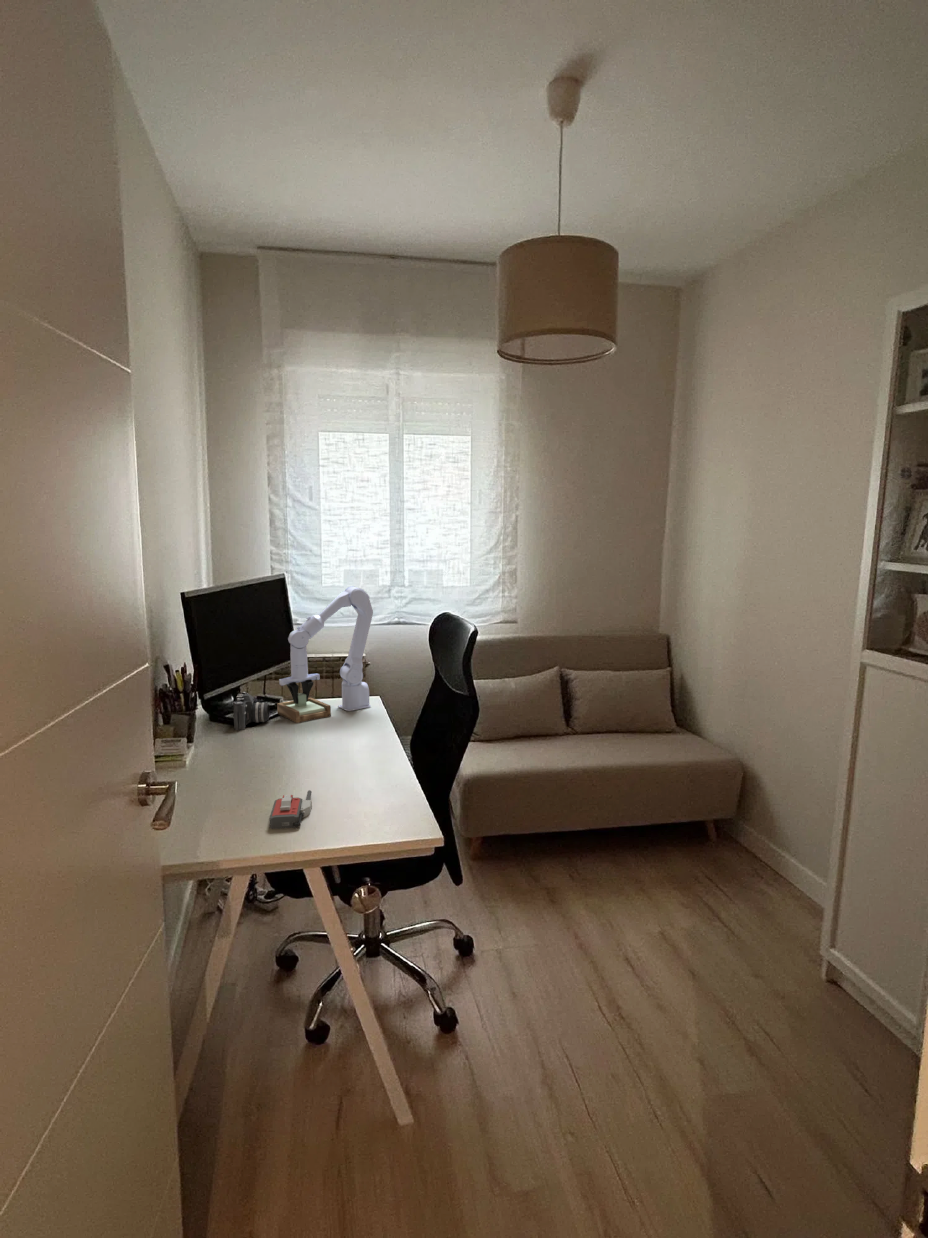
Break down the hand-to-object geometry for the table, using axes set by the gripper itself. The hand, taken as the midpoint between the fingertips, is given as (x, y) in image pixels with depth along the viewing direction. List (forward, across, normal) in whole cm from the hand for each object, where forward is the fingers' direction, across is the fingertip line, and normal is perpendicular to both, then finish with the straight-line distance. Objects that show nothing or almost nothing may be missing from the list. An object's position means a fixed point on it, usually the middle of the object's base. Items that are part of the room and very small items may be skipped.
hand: (300, 702), depth 254 cm
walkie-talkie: (+5, +40, +78) cm, 88 cm away
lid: (+2, 0, +2) cm, 3 cm away
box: (+4, 0, +2) cm, 5 cm away
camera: (+4, +18, +1) cm, 19 cm away
